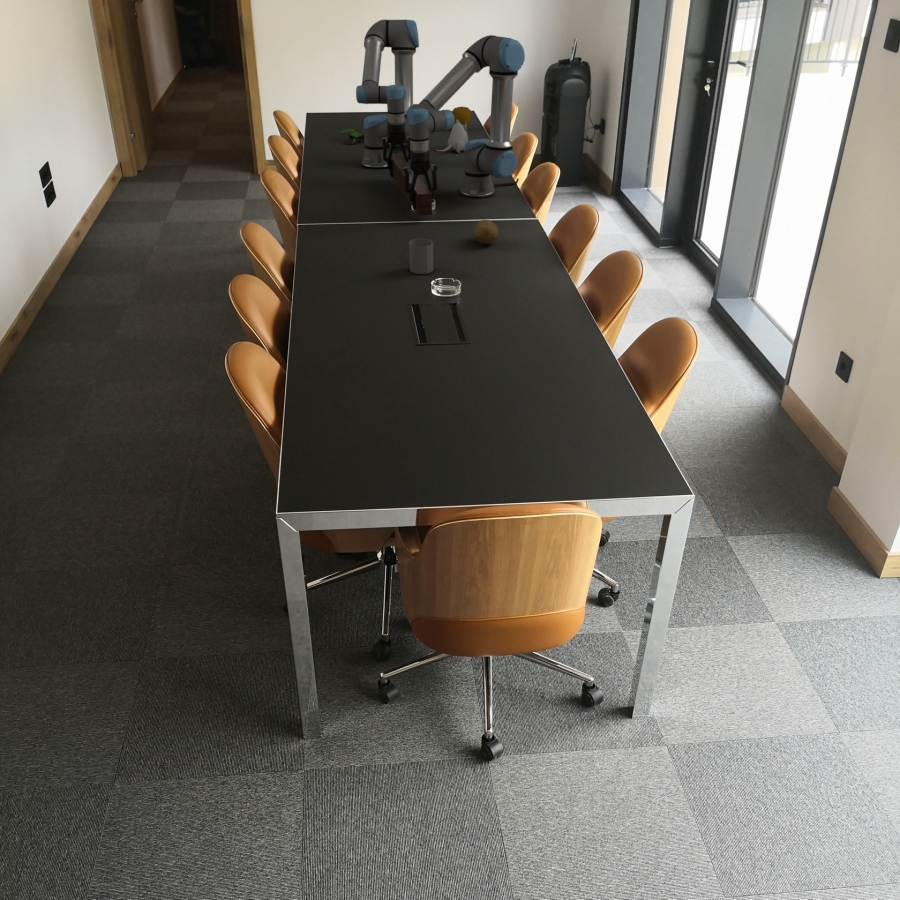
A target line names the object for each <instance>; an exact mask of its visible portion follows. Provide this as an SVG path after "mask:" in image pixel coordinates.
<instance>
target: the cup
mask: <svg viewBox="0 0 900 900" xmlns="http://www.w3.org/2000/svg"><path fill="white" fill-rule="evenodd" d="M408 253H409V272H411V273H412V274H416V275H426V274H430V273H432V272H434V241H433V240H431V239H428V238H422V237H421V238H420V237H419V238H414V239H411V240H410V241H409V242H408Z"/></svg>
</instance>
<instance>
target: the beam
mask: <svg viewBox="0 0 900 900" xmlns="http://www.w3.org/2000/svg"><path fill="white" fill-rule="evenodd" d="M391 161H392V169H393V177H392V179H393V181H394V182H395V184H396V185H397V186H398V188H399V189H400V191H401V192H402V193H403V195H404V196H405V199H407V201H408V203H410V205H411V207H413V204H412V202H411V201H410V193H406V191H405V172H404V169H403V168H404V167H408V166H410V163H409V162H408V163H407V161H406V160H405V159H404V155H403V154H401V153H400V152H399V153H398V152H397V153H396V154H394V153H392V157H391ZM388 171H389V174H390V169H388ZM412 177H413V171H412V169H410V172H409V189H410V186H411V182H412ZM414 193H415V202H416V210H414V211H415V212H416V214H417V215H418V216H419V217H422V216H433V200H432V193H431V192H430V191H429V189H428V186H427V185H426V184H425V183H424V182H423V180H422V179H421V178H420V177H419V176H418V177H417V180H416V184H415V188H414Z"/></svg>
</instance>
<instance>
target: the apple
mask: <svg viewBox="0 0 900 900" xmlns="http://www.w3.org/2000/svg"><path fill="white" fill-rule="evenodd" d="M451 112H452V113H453V115H454V124H456V120H458V121H459V122H460V124H461V125H464V126H465V123H466V124H467V129H468V128H469V126H470V124H471V121H472V111H471V108H469V107H467V106H462V105H461V106H457V107H454V108H452V110H451Z"/></svg>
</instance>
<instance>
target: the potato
mask: <svg viewBox="0 0 900 900" xmlns="http://www.w3.org/2000/svg"><path fill="white" fill-rule="evenodd" d="M472 232H473V233H472V234H473V238H474V239H475V241H477V242H478V243H479V244H482V245H490V244H491V243H493V242H495V241H496V240H497V238H498V235H499V228H498V226H497V225H496V224H495V223H494V222H492V221H491V220H490V219H481V220H480V221H478V222H477V223H476V224H475V225H474V228H473V231H472Z"/></svg>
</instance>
